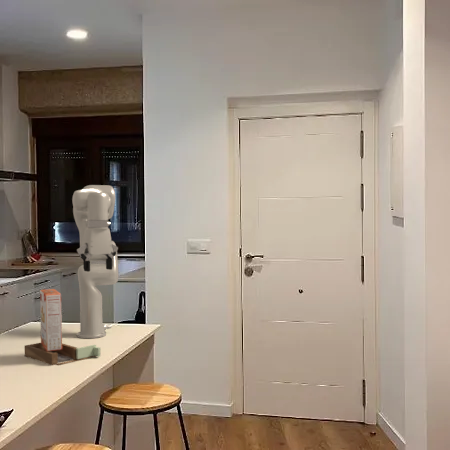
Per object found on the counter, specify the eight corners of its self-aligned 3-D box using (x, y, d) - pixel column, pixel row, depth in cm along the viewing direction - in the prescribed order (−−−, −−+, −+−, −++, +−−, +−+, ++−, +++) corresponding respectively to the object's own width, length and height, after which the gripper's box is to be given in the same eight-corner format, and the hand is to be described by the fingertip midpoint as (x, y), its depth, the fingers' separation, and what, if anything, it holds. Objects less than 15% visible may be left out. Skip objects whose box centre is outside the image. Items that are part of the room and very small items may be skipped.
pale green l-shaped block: (94, 354, 216) (94, 344, 216) (100, 356, 213) (100, 346, 213) (76, 358, 210) (76, 348, 210) (82, 360, 207) (82, 350, 207)
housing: (66, 347, 229) (66, 337, 229) (97, 356, 215) (97, 345, 215) (24, 356, 216) (24, 345, 216) (54, 366, 202) (54, 354, 202)
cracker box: (39, 344, 218) (39, 289, 218) (56, 342, 221) (55, 288, 220) (45, 352, 206) (44, 294, 205) (62, 350, 208) (62, 293, 208)
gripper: (111, 224, 224) (111, 268, 224) (72, 225, 212) (72, 271, 212) (122, 224, 219) (123, 269, 219) (83, 225, 206) (83, 272, 207)
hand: (98, 270), depth 216 cm, fingers open, 9 cm apart
